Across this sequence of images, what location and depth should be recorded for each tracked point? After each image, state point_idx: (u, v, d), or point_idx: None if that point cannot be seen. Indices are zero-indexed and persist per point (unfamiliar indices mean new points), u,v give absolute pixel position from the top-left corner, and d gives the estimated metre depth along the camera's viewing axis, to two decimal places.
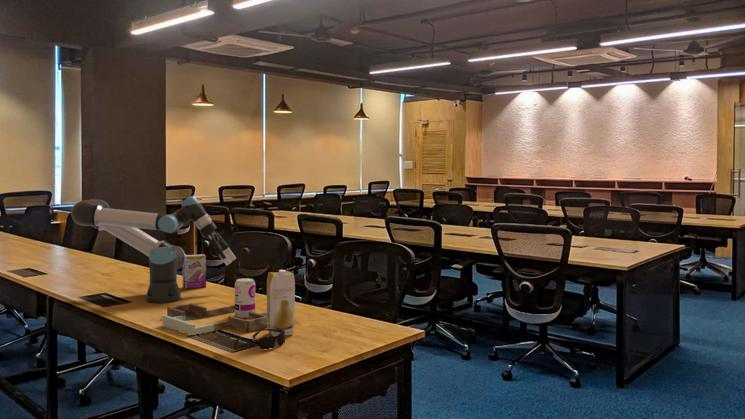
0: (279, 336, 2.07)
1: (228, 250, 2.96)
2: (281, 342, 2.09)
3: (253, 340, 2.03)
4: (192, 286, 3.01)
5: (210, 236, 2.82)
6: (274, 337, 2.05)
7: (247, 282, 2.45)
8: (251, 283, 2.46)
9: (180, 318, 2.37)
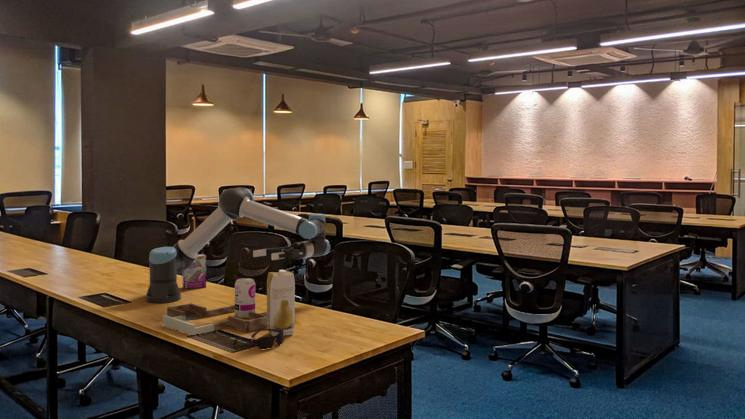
0: (278, 336, 2.08)
1: (264, 253, 2.62)
2: (280, 342, 2.09)
3: (252, 340, 2.03)
4: (192, 286, 3.01)
5: (301, 253, 2.61)
6: (273, 337, 2.05)
7: (247, 282, 2.45)
8: (251, 283, 2.46)
9: (180, 318, 2.37)
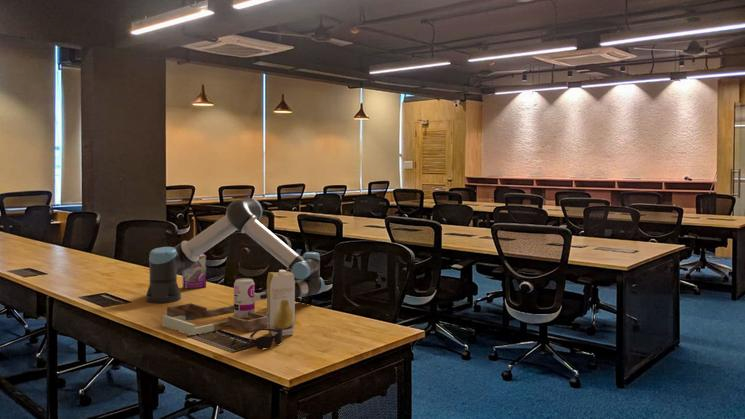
0: (276, 336, 2.08)
1: None
2: (278, 342, 2.09)
3: (250, 340, 2.04)
4: (192, 286, 3.01)
5: None
6: (271, 337, 2.06)
7: (246, 282, 2.44)
8: (250, 283, 2.45)
9: (180, 318, 2.37)
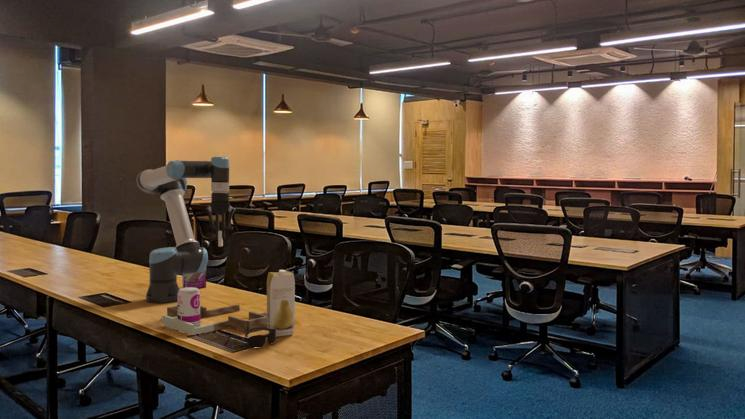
0: (269, 335, 2.09)
1: None
2: (271, 341, 2.10)
3: (243, 338, 2.05)
4: (192, 286, 3.01)
5: None
6: (264, 336, 2.07)
7: (189, 291, 2.25)
8: (194, 293, 2.26)
9: None
